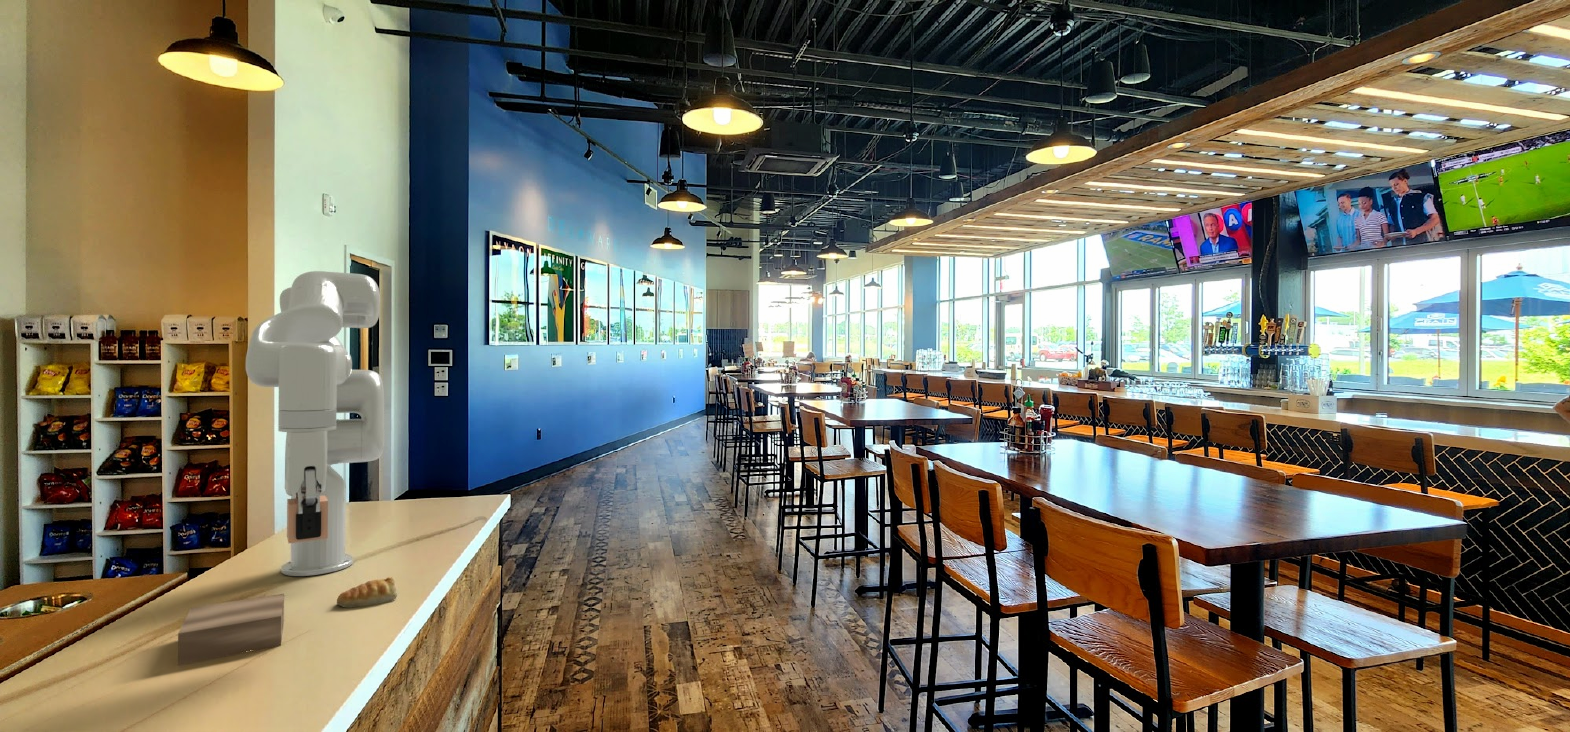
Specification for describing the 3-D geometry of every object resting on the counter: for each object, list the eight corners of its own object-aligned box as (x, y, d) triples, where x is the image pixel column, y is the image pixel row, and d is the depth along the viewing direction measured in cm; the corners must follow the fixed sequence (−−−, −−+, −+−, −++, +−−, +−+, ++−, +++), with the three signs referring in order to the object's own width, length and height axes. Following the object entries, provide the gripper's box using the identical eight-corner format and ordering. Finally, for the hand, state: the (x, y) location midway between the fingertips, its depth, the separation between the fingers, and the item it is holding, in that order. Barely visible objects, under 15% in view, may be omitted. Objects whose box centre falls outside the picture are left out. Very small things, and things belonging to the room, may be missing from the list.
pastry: (340, 613, 117) (340, 592, 117) (333, 603, 122) (333, 582, 122) (399, 601, 123) (400, 580, 123) (391, 591, 128) (391, 572, 128)
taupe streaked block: (190, 638, 106) (190, 607, 106) (283, 622, 113) (284, 593, 113) (177, 667, 96) (178, 633, 96) (280, 647, 103) (281, 616, 103)
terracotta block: (286, 536, 106) (287, 499, 106) (324, 531, 109) (324, 495, 109) (288, 543, 102) (288, 505, 102) (327, 538, 105) (328, 500, 105)
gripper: (276, 417, 109) (275, 526, 110) (280, 427, 96) (280, 550, 96) (330, 415, 114) (329, 520, 114) (342, 424, 101) (341, 542, 101)
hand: (307, 532), depth 105 cm, fingers closed on terracotta block, 4 cm apart
